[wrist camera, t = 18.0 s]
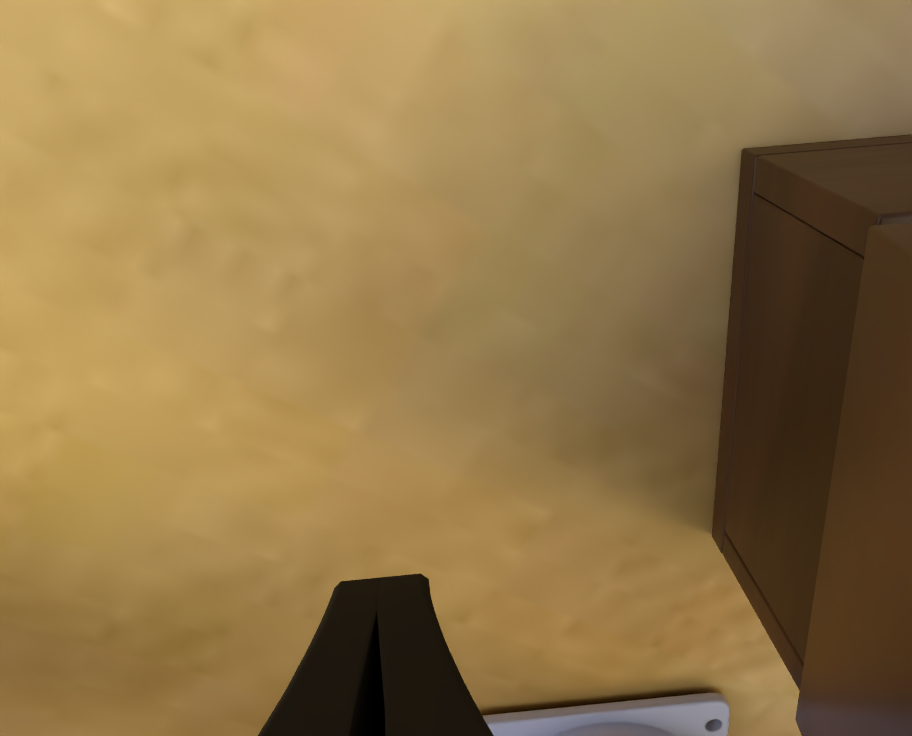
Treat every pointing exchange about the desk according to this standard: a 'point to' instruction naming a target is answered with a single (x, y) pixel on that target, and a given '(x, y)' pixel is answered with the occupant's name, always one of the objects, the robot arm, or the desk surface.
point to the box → (794, 360)
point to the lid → (868, 520)
